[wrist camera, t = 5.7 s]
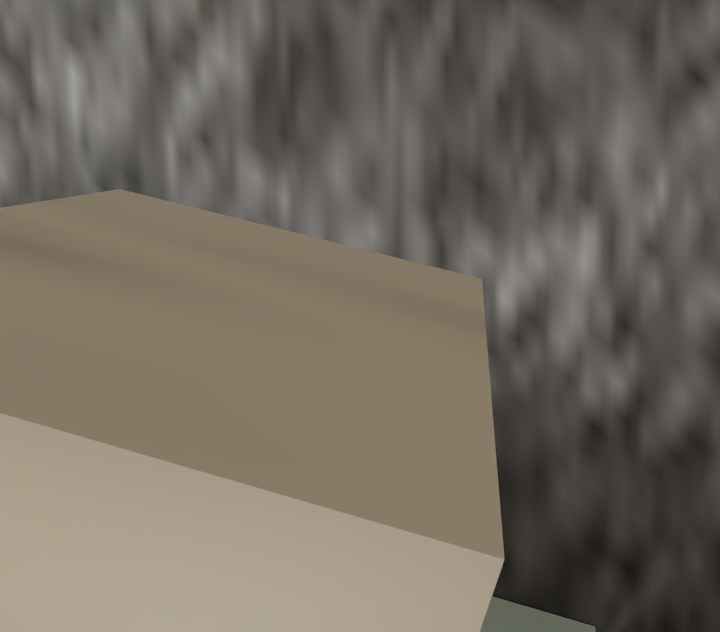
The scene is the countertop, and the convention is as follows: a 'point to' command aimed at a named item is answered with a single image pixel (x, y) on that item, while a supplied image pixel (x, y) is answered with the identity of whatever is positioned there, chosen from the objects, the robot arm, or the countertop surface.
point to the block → (237, 428)
